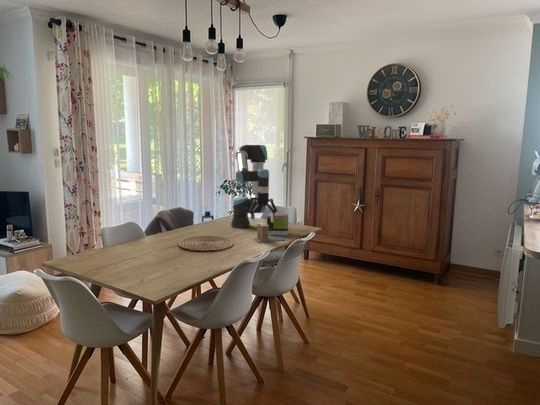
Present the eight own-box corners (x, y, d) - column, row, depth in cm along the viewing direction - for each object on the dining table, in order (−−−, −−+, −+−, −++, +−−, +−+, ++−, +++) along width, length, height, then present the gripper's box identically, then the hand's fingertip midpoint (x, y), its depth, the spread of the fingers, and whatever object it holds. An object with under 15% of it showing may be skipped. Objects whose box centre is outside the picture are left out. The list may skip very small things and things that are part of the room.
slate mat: (253, 239, 277) (253, 238, 277) (279, 237, 284) (279, 236, 284) (258, 242, 267) (258, 242, 267) (285, 240, 275) (285, 239, 275)
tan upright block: (257, 238, 277) (257, 223, 275) (263, 237, 279) (263, 222, 277) (261, 241, 269) (261, 225, 267) (268, 240, 271) (268, 225, 269)
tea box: (288, 232, 297) (288, 213, 295) (287, 236, 287) (287, 216, 285) (268, 232, 299) (268, 212, 296) (266, 235, 289) (266, 215, 286)
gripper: (247, 194, 260) (247, 225, 264) (282, 192, 270) (281, 222, 273) (243, 192, 267) (243, 222, 271) (277, 190, 276) (277, 220, 280)
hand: (262, 222), depth 272 cm, fingers open, 13 cm apart
